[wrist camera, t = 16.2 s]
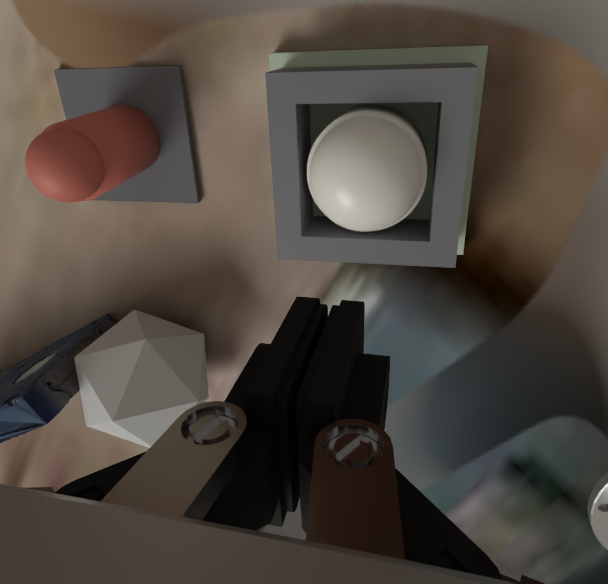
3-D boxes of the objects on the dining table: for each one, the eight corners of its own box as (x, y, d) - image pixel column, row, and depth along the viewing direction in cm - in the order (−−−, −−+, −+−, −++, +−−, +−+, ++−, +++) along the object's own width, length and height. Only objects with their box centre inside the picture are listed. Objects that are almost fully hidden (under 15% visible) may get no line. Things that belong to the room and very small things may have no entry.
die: (166, 282, 39) (57, 364, 37) (165, 292, 30) (23, 399, 29) (232, 364, 41) (132, 445, 39) (249, 395, 32) (121, 500, 31)
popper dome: (430, 103, 25) (433, 121, 20) (422, 215, 28) (422, 255, 23) (315, 104, 26) (291, 122, 22) (317, 212, 29) (297, 249, 24)
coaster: (181, 65, 28) (178, 66, 28) (200, 201, 32) (198, 203, 32) (58, 69, 30) (54, 69, 30) (89, 198, 34) (86, 199, 33)
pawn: (156, 106, 29) (75, 135, 22) (163, 173, 31) (90, 220, 24) (93, 102, 30) (-6, 128, 23) (104, 168, 32) (15, 212, 25)
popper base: (485, 45, 25) (497, 48, 21) (461, 248, 30) (467, 280, 26) (273, 52, 27) (249, 57, 23) (285, 240, 32) (266, 269, 28)
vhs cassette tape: (-5, 405, 46) (-102, 491, 38) (-28, 381, 45) (-132, 464, 37) (134, 340, 39) (54, 429, 30) (111, 310, 38) (21, 394, 30)
